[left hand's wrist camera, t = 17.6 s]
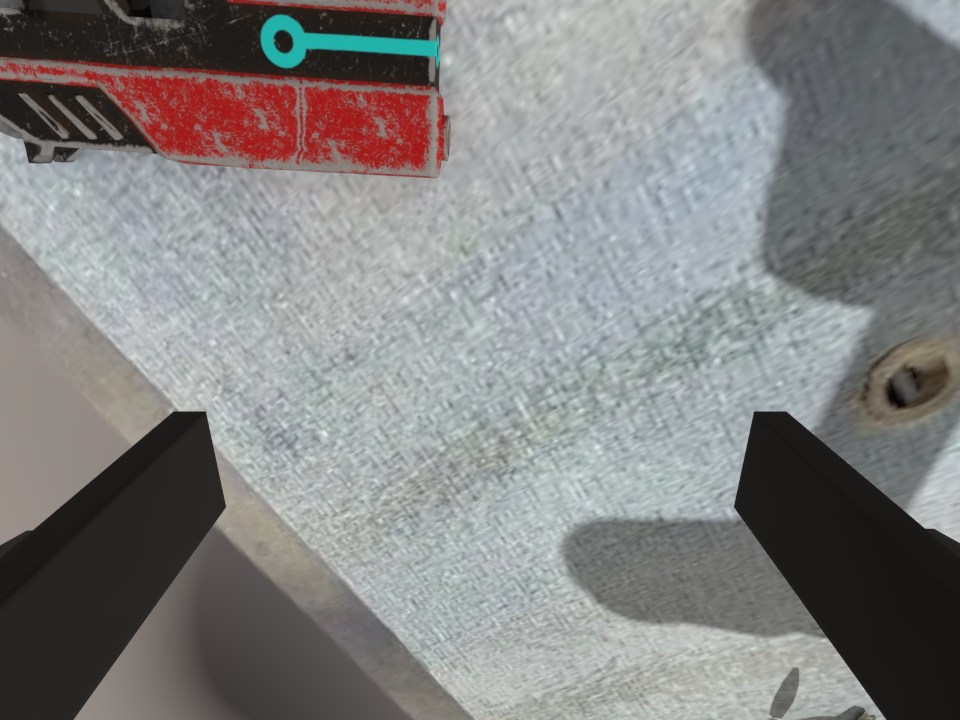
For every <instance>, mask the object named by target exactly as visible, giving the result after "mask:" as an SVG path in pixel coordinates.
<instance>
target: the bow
mask: <svg viewBox="0 0 960 720" xmlns="http://www.w3.org/2000/svg"><path fill="white" fill-rule="evenodd" d="M875 719H876V717H875V716H874V715H873V716H871V715H870V716H868V715H867V714H865V715H864V714H862V716H860V717H859V718H858V719H857V720H875Z"/></svg>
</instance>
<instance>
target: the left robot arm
mask: <svg viewBox="0 0 960 720" xmlns="http://www.w3.org/2000/svg"><path fill="white" fill-rule="evenodd" d="M225 508H226V505H225V500H224V495H223V490H222V486H221V481H220V476H219V471H218V467H217V462H216V457H215V453H214V448H213V443H212V438H211V434H210V429H209V424H208V420H207V415H206V412H173V413H171V414H170V415H169V416H168V417H167V418H166V419H164V420H163V421H162V422H161V423H160V424H158V425H157V426H156V427H155V428H154V429H153V430H151V431H150V432H149V433H148V434H147V435H145V436H144V437H143V438H142V439H141V440H140V441H138V442H137V443H136V444H135V445H134V446H132V447H131V448H130V449H129V450H128V451H126V452H125V453H124V454H123V455H122V456H121V457H119V458H118V459H117V460H116V461H115V462H114V463H112V464H111V465H110V466H109V467H108V468H106V469H105V470H104V471H103V472H102V473H100V474H99V475H98V476H97V477H96V478H94V479H93V480H92V481H91V482H90V483H89V484H87V485H86V486H85V487H84V488H83V489H81V490H80V491H79V492H78V493H77V494H76V495H74V496H73V497H72V498H71V499H70V500H68V501H67V502H66V503H65V504H64V505H63V506H61V507H60V508H59V509H58V510H57V511H55V512H54V513H53V514H52V515H51V516H50V517H48V518H47V519H46V520H45V521H44V522H42V523H41V524H40V525H39V526H38V527H36V528H35V529H34V530H33V531H25V532H24V533H22V534H20V535H18V536H16V537H15V538H13V539H11V540H9V541H7V542H6V543H4V544H2V545H0V720H74V718H75V717H76V715H77V714H78V713H79V711H80V710H81V708H82V707H83V706H84V704H85V703H86V702H87V700H88V699H89V697H90V696H91V695H92V693H93V692H94V690H95V689H96V688H97V686H98V685H99V683H100V682H101V681H102V679H103V678H104V676H105V675H106V674H107V672H108V671H109V669H110V668H111V667H112V665H113V664H114V663H115V661H116V660H117V658H118V657H119V656H120V654H121V653H122V651H123V650H124V649H125V647H126V646H127V644H128V643H129V642H130V640H131V639H132V637H133V636H134V635H135V633H136V632H137V630H138V629H139V628H140V626H141V625H142V624H143V622H144V621H145V619H146V618H147V617H148V615H149V614H150V612H151V611H152V609H153V608H154V607H155V605H156V604H157V603H158V601H159V600H160V598H161V597H162V596H163V594H164V593H165V591H166V590H167V589H168V587H169V586H170V584H171V583H172V582H173V580H174V579H175V578H176V576H177V575H178V573H179V572H180V571H181V569H182V568H183V566H184V565H185V564H186V562H187V561H188V559H189V558H190V557H191V555H192V554H193V552H194V551H195V550H196V548H197V547H198V545H199V544H200V543H201V541H202V540H203V538H204V537H205V536H206V534H207V533H208V531H209V530H210V529H211V527H212V526H213V525H214V523H215V522H216V520H217V519H218V518H219V516H220V515H221V513H222V512H223V511H224V509H225ZM734 508H735V509H736V511H737V512H738V513H739V515H740V516H741V518H742V519H743V520H744V522H745V523H746V525H747V526H748V527H749V529H750V530H751V532H752V533H753V534H754V536H755V537H756V538H757V540H758V541H759V543H760V544H761V545H762V547H763V548H764V550H765V551H766V552H767V554H768V555H769V557H770V558H771V559H772V561H773V562H774V564H775V565H776V566H777V568H778V569H779V571H780V572H781V573H782V575H783V576H784V578H785V579H786V580H787V582H788V583H789V584H790V586H791V587H792V589H793V590H794V591H795V593H796V594H797V596H798V597H799V598H800V600H801V601H802V603H803V604H804V605H805V607H806V608H807V610H808V611H809V612H810V614H811V615H812V617H813V618H814V619H815V621H816V622H817V624H818V625H819V626H820V628H821V629H822V630H823V632H824V633H825V635H826V636H827V637H828V639H829V640H830V642H831V643H832V644H833V646H834V647H835V649H836V650H837V651H838V653H839V654H840V656H841V657H842V658H843V660H844V661H845V663H846V664H847V665H848V667H849V668H850V670H851V671H852V672H853V674H854V675H855V676H856V678H857V679H858V681H859V682H860V683H861V685H862V686H863V688H864V689H865V690H866V692H867V693H868V695H869V696H870V697H871V699H872V700H873V702H874V703H875V704H876V706H877V707H878V709H879V710H880V711H881V713H882V714H883V716H884V717H885V718H886V720H960V543H959V542H957V541H955V540H953V539H951V538H949V537H948V536H946V535H944V534H942V533H940V532H939V531H937V530H935V529H925V528H924V527H922V526H921V525H920V524H919V523H918V522H916V521H915V520H914V519H913V518H912V517H911V516H909V515H908V514H907V513H906V512H905V511H903V510H902V509H901V508H900V507H899V506H897V505H896V504H895V503H894V502H893V501H892V500H890V499H889V498H888V497H887V496H886V495H884V494H883V493H882V492H881V491H880V490H879V489H877V488H876V487H875V486H874V485H873V484H871V483H870V482H869V481H868V480H867V479H866V478H864V477H863V476H862V475H861V474H860V473H858V472H857V471H856V470H855V469H854V468H852V467H851V466H850V465H849V464H848V463H847V462H845V461H844V460H843V459H842V458H841V457H839V456H838V455H837V454H836V453H835V452H834V451H832V450H831V449H830V448H829V447H828V446H826V445H825V444H824V443H823V442H822V441H820V440H819V439H818V438H817V437H816V436H815V435H813V434H812V433H811V432H810V431H809V430H807V429H806V428H805V427H804V426H803V425H802V424H800V423H799V422H798V421H797V420H796V419H794V418H793V417H792V416H791V415H790V414H789V413H787V412H754V415H753V420H752V424H751V429H750V434H749V438H748V443H747V448H746V453H745V457H744V462H743V467H742V471H741V476H740V481H739V486H738V490H737V495H736V500H735V505H734Z"/></svg>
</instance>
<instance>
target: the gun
mask: <svg viewBox="0 0 960 720" xmlns="http://www.w3.org/2000/svg"><path fill="white" fill-rule="evenodd" d="M19 4H20V7H21V9H18V8H3V7H0V120H2V121H3V122H5V123H6V124H8V125H9V126H11V127H12V128H13V129H15V130H16V131H18V132H19V133H21V134H22V136H23V140H24V144H25V148H26V152H27V157H28V161H29V163H39V164H41V163H51V162H52V160H53V159H54V162H74V161H75V160H76V158H77V157H78V156H79V154H80V153H81V151H82V150H83V149H98V150H113V151H127V152H141V153H155V154H159V155H161V156H162V157H164V158H166V159H169V160H173V161H177V162H180V163H184V164H198V165H213V166H228V167H242V168H258V169H277V170H296V171H314V172H332V173H350V174H369V175H387V176H405V177H423V178H438V177H439V174H440V167H441V161H442V160H445V161H448V157H449V147H450V116H445V115H444V111H443V98H442V96H441V95H440V93H439V69H440V33H441V25H442V24H443V22H444V20H445V18H446V0H184V5H185V12H186V20H173V19H158V18H152V14H151V11H150V3H149V0H19Z"/></svg>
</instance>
